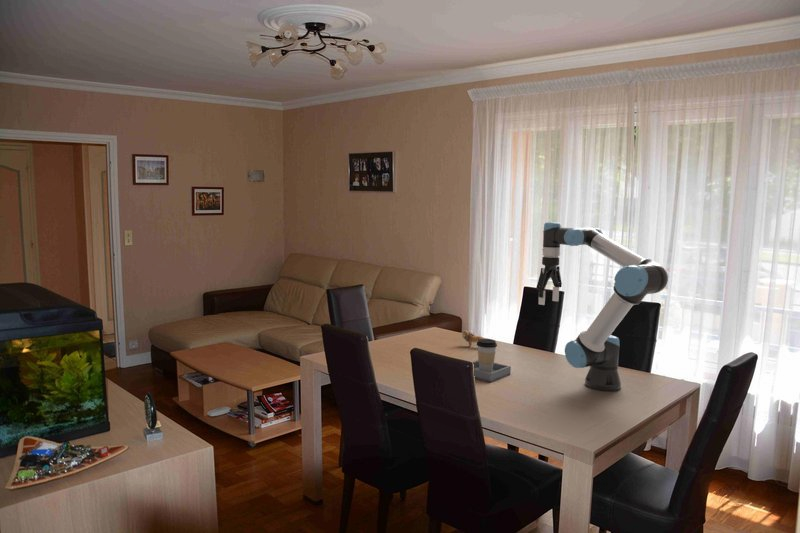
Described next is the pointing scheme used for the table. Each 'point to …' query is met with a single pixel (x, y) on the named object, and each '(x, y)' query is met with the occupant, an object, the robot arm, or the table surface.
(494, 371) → the bin
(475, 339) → the lion figurine
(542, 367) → the table surface
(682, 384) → the table surface
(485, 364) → the coffee cup
